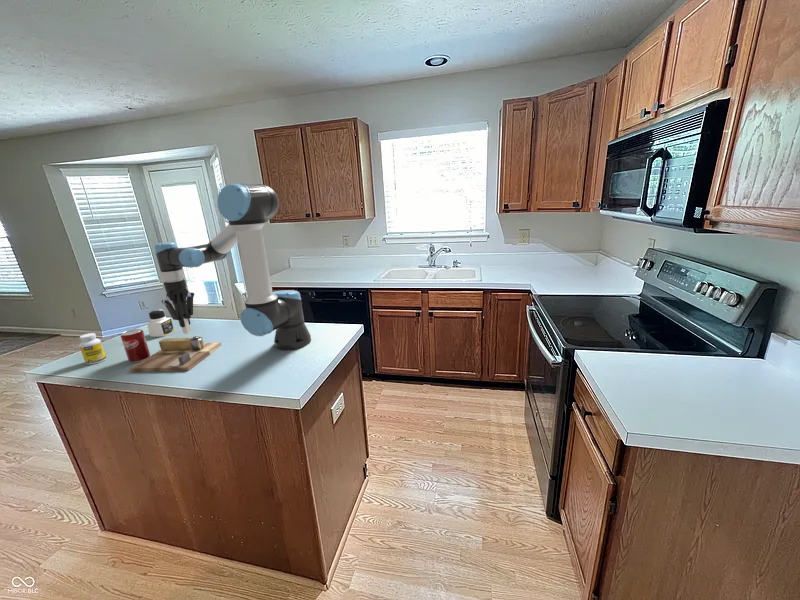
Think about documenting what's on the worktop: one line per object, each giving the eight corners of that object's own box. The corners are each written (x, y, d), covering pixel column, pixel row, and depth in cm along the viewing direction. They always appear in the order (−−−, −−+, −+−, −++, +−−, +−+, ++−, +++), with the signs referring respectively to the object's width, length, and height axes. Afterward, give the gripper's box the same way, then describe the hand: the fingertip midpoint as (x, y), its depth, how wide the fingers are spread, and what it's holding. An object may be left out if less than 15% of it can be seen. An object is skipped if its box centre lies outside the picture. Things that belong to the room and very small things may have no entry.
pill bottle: (83, 366, 132) (73, 339, 129) (89, 360, 138) (79, 334, 134) (104, 362, 135) (95, 336, 132) (108, 356, 141) (100, 330, 137)
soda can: (139, 363, 132) (130, 335, 129) (124, 362, 134) (115, 335, 130) (155, 355, 139) (147, 328, 135) (141, 354, 140) (132, 328, 137)
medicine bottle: (164, 336, 159) (158, 313, 156) (150, 337, 159) (143, 313, 156) (174, 330, 166) (168, 308, 163) (160, 331, 166) (154, 308, 163)
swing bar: (206, 345, 141) (203, 334, 140) (199, 349, 137) (196, 339, 135) (167, 346, 142) (164, 336, 141) (159, 351, 138) (156, 340, 137)
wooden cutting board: (221, 345, 145) (219, 336, 144) (188, 370, 124) (185, 359, 123) (171, 347, 146) (169, 337, 145) (130, 372, 125) (127, 361, 124)
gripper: (183, 276, 145) (195, 326, 152) (152, 283, 133) (166, 337, 140) (195, 277, 142) (206, 328, 149) (164, 284, 130) (178, 339, 137)
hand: (187, 332), depth 145 cm, fingers closed
